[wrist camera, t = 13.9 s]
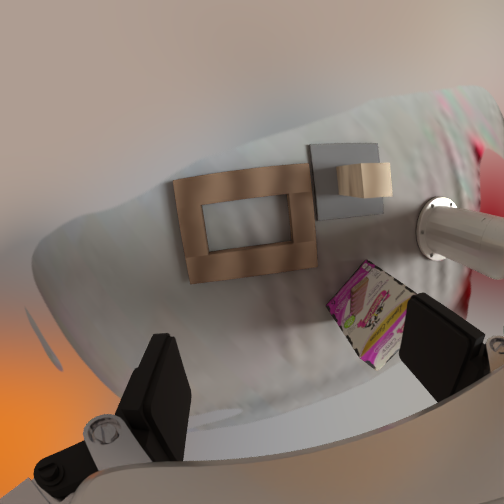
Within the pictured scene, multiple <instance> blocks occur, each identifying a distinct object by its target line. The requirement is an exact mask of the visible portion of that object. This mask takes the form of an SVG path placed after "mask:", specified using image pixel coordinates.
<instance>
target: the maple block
mask: <svg viewBox="0 0 504 504" xmlns="http://www.w3.org/2000/svg"><path fill="white" fill-rule="evenodd" d="M336 170H337V179H338V189H339V195H344V196H351V197H358V198H376V197H389V196H392V182H391V171H390V163H360V164H352V165H344V166H337V167H336Z"/></svg>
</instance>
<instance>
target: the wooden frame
mask: <svg viewBox="0 0 504 504" xmlns="http://www.w3.org/2000/svg"><path fill="white" fill-rule="evenodd" d="M173 186H174V193H175V200H176V206H177V213H178V219H179V225H180V231H181V237H182V243H183V248H184V254H185V259H186V264H187V269H188V274H189V279H190V284H197V283H205V282H213V281H221V280H229V279H236V278H244V277H251V276H259V275H266V274H273V273H280V272H287V271H294V270H301V269H307V268H314V267H318V262H317V245H316V231H315V218H314V207H313V196H312V187H311V177H310V168H309V163H304V164H291V165H280V166H270V167H261V168H252V169H243V170H236V171H228V172H221V173H214V174H208V175H201V176H195V177H189V178H183V179H178V180H173ZM281 194H287V202H288V211H289V221H290V231H291V241H286V242H278V243H271V244H263V245H255V246H248V247H241V248H233V249H226V250H218V251H211V252H209V248H208V242H207V235H206V229H205V222H204V216H203V209H202V205H204V204H211V203H218V202H225V201H232V200H240V199H247V198H255V197H264V196H272V195H281Z"/></svg>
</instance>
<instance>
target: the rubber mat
mask: <svg viewBox="0 0 504 504" xmlns="http://www.w3.org/2000/svg"><path fill="white" fill-rule="evenodd" d="M309 146H310V154H311V162H312V171H313V180H314V189H315V199H316V211H317V220H318V221H321V220H330V219H339V218H348V217H357V216H367V215H377V214H384V212H383V197H376V198H358V197H351V196H344V195H339V189H338V179H337V170H336V167H337V166H344V165H352V164H360V163H380V160H379V151H378V143H334V144H310V145H309Z"/></svg>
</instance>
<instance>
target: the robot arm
mask: <svg viewBox="0 0 504 504" xmlns="http://www.w3.org/2000/svg"><path fill="white" fill-rule="evenodd" d="M416 234H417V242H418V246H419V248H420V250H421V252H422V253H423V254H424V255H425V256H426V257H427V258H429V259H431V260H434V261H440V260H443V259H445V258H448V259H451V260H453V261H455V262H458V263H460V264H462V265H464V266H466V267H469V268H471V269H473V270H475V271H477V272H479V273H481V274H484V275H486V276H488V277H490V278H493V279H504V218H503V217H498V216H494V215H489V214H485V213H481V212H476V211H471V210H466V209H461V208H457V207H456V205H455V204H454V203H453V201H451V200H450V199H448V198H446V197H435V198H433V199H431V200H430V201H428V202H427V203H426V204H425V206H424V207H423V209H422V211H421V213H420V215H419V218H418V222H417V232H416ZM503 334H504V327H503ZM484 337H485V334H484V333H483V332H481V331H480V330H479V329H477V328H476V327H474V326H473V325H472V324H470V323H469V322H467V321H466V320H464V319H463V318H462V317H460V316H459V315H457V314H456V313H454V312H453V311H451V310H450V309H448V308H447V307H445V306H444V305H442V304H441V303H439V302H438V301H436V300H435V299H433V298H432V297H430V296H429V295H427V294H426V293H419V294H415V295H412V296H411V298H410V299H409V300H408V303H407V309H406V316H405V323H404V329H403V334H402V340H401V345H400V350H399V356H400V359H401V360H402V362H403V363H404V364H405V365H406V366H407V367H408V368H409V370H410V371H411V372H412V373H413V374H414V375H415V376H416V378H417V379H418V380H419V381H420V382H421V383H422V385H423V386H424V387H425V388H426V389H427V391H428V392H429V393H430V394H431V395H432V396H433V397H434V399H435V400H436V401H437V402H438V403H436V404H434V405H433V406H431V407H429V408H426V409H424V410H422V411H420V412H418V413H415V414H413V415H411V416H409V417H406V418H404V419H401V420H399V421H396V422H394V423H391V424H389V425H386V426H383V427H381V428H378V429H375V430H372V431H369V432H366V433H363V434H360V435H357V436H353V437H350V438H347V439H343V440H340V441H336V442H333V443H329V444H324V445H320V446H316V447H312V448H307V449H302V450H297V451H291V452H286V453H280V454H273V455H266V456H258V457H249V458H241V459H240V458H239V459H227V460H211V461H210V460H209V461H183V458H184V449H185V441H186V433H187V426H188V418H189V411H190V404H191V389H190V386H189V383H188V380H187V377H186V373H185V370H184V367H183V364H182V360H181V357H180V353H179V350H178V346H177V343H176V339H175V337H170V335H169V334H168V333H162V334H153V336H152V338H151V340H150V342H149V344H148V347H147V349H146V351H145V353H144V355H143V358H142V360H141V362H140V364H139V367H138V368H135V370H134V371H133V373H132V375H131V378H130V380H129V382H128V384H127V387H126V389H125V391H124V394H123V396H122V398H121V401H120V403H119V405H118V408H117V410H116V413H115V415H111V414H104V415H100V416H97V417H95V418H93V419H91V420H90V421H89V422H88V423H87V424H86V426H85V428H84V432H83V436H84V441H82V442H79V443H78V444H75V445H73V446H71V447H69V448H66V449H64V450H62V451H60V452H57V453H55V454H53V455H50V456H48V457H45V458H44V459H42V460H40V461H39V462H38V463H37V464H36V466H35V469H34V479H33V480H31V479H30V478H27V479H26V480H25V481H23V482H22V483H21V484H19V485H18V486H17V487H16V488H14V489H13V490H11V491H10V492H9V493H8V494H6V495H5V496H3V497H2V498H1V499H0V504H504V337H503V336H492V337H490V338H488V339H487V342H486V344H483V340H484Z"/></svg>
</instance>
